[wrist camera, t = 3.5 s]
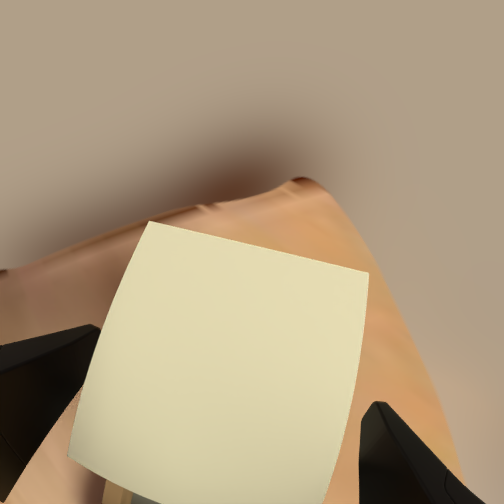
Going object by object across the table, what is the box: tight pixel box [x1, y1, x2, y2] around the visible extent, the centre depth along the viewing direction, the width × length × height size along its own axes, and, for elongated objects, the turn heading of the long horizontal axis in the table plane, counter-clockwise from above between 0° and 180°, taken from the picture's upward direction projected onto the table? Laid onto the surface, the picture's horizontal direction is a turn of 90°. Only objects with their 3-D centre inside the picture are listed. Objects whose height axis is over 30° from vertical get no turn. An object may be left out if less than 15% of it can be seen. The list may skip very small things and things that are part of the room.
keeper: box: [67, 221, 369, 504], centre depth 9 cm, size 5×4×11 cm
